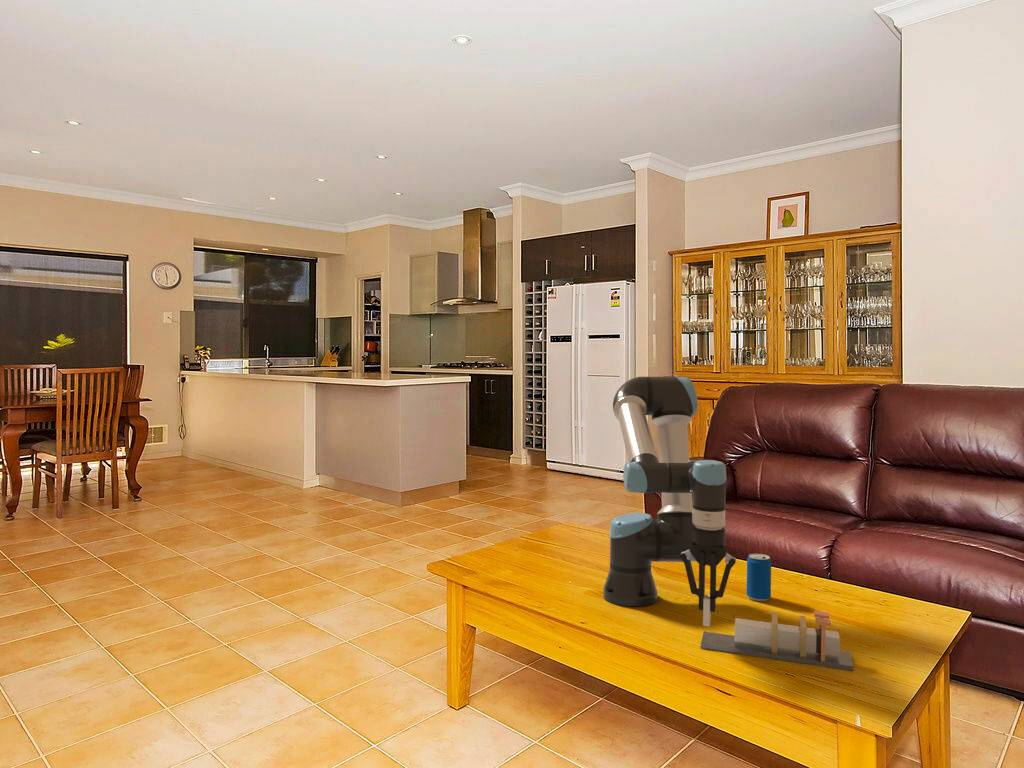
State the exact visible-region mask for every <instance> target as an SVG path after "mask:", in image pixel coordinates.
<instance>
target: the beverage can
mask: <svg viewBox="0 0 1024 768" xmlns="http://www.w3.org/2000/svg"><path fill="white" fill-rule="evenodd" d="M771 595H772V561H771V558H770V555H766V554H763V553H749V554H748V557H747V558H746V596H747V597H748V598H749V599H751V600H753V601H754V602H755V601H756V602H766V601H769V600H770V599H771V597H772V596H771Z"/></svg>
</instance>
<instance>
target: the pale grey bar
mask: <svg viewBox="0 0 1024 768" xmlns="http://www.w3.org/2000/svg"><path fill="white" fill-rule="evenodd" d="M800 632H801V629H800V627H799V626H798V625H790V624H783V623H778V630H777V647H778V648H785V649H792V650H799V651H800ZM734 636H735V640H734V641H736V642H743V643H750V644H757V645H764V646H771V645H772V622H767V621H761V620H753V619H752V620H751V619H744V618H737V617H735V619H734ZM840 639H841V638H840V633H839V631H836V630H827V629H826V631H825V654H827V655H834V656H839V650H840V651H841V649H840V648H841V647H840V642H841V640H840ZM806 652H813V653H818V654H821V629H819V628H818V627H816V628H814V627H807V640H806Z"/></svg>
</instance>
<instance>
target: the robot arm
mask: <svg viewBox="0 0 1024 768" xmlns="http://www.w3.org/2000/svg"><path fill="white" fill-rule="evenodd" d="M612 410H613V411H612V412H613V414H614V416H615V419H617V420H618V421H619V426H620V429H621V434H622V438H623V443H624V448H625V452H626V456H627V460H628V462H626V463H625V464H624V466H623V486H624V489H625V491H627V492H628V493H639V494H661V508H660V509H659V510H658V511H657V514H656V515H657V517H656V518H657V519H653V517H652V515H651V514H648V513H645V512H644V513H643V512H642V513H641V512H632V513H625V514H622V515H618V516H616V517H613V518H612V520H611V522H610V528H609V533H608V534H609V570H608V573H607V577H606V580H605V583H604V585H603V589H602V590H603V591H602V592H603V593H602V594H603V598H604V600H605V601H607V602H609V603H611V604H615V605H618V606H625V607H646V606H651V605H653V604H655V603H656V602H658V590H657V585H656V582H655V579H654V577H653V572H652V564H653V562H656V563H657V562H660V563H661V562H662V563H663V562H666V563H672V562H673V563H674V562H675V563H677V562H678V563H683V564H684V568H685V571H686V575H687V576H686V577H687V581H688V585H689V589H690V593H691V594H692V595H696V596H697V597H698V610H699V611H701V612H702V614H703V615H702V626H704V627H710V626H711V612H712V613H715V611H716V603H717V602H716V601H717V599H718V598H723V597H724V594H725V590H726V586H727V584H728V581H729V580H728V579H729V578H730V577H729V576H730V574H731V570H732V568H733V567H734V565H735V564H736V561H737V558H736V556H732V555H731V554H730V553H728V552H727V551H728V549H727V548H726V546H725V545H726V544H725V543H726V530H725V529H726V528H724V527H725V526H726V500H727V499H726V497H727V496H726V495H727V494H726V493H727V480H728V478H727V469H726V468H727V467H726V465H725V463H724V462H723V461H718V460H716V459H715V460H712V459H698V460H690V448H689V433H688V425H689V424H690V423H691V422H692V421H693V416H695V415H696V414H697V411H698V396H697V391H696V388H695V385H694V383H693V381H692V380H691V379H690V378H689V377H687V376H686V377H685V376H684V377H683V376H676V375H673V376H636V377H633V378H631V379H629V380H627V381H626V382H624V383H623V384H622V385H621V386H620V387H619V388H618V390H617V391H616V393H615V395H614V397H613V401H612ZM647 416H651V422H652V424H653V425H655V426H656V428H657V438H658V439H657V441H658V455H657V451H656V447H655V443H654V440H653V436H652V432H651V430H650V426H649V424H648V423H649V422H648V418H647ZM724 558H725V560H724ZM723 560H724V563H725V564H726V565H725V566H724V570H723V574H722V577H721V581H720V584H719V588H718V590H717V566H718V565H719V564H721V561H723ZM692 562H694V563H695V562H696V563H697V564H698V587H697V582H696V578H695V574H694V569H693V566H692ZM706 566H709V574H710V575H709V576H710V577H709V594H705V592H706V588H705V587H706V586H705V585H706Z"/></svg>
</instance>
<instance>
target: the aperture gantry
mask: <svg viewBox="0 0 1024 768" xmlns="http://www.w3.org/2000/svg"><path fill="white" fill-rule="evenodd" d="M813 615H814V617H815V619H814V620H815V621H814V622H815V625H818V629H821V661H825V631H826V630H827V629H826V626H827V627H832V622H831V619H830V613H829V611H822V610H821V611H820V610H813Z"/></svg>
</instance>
